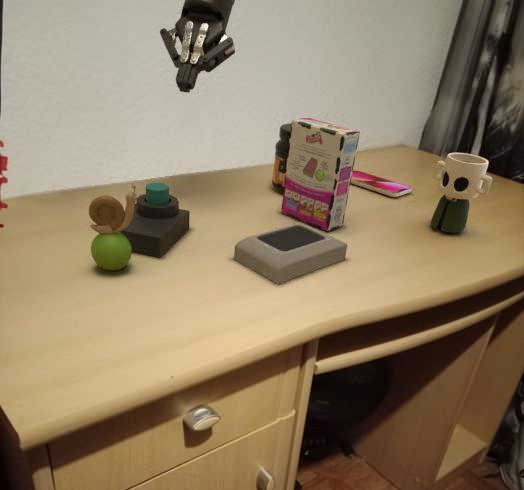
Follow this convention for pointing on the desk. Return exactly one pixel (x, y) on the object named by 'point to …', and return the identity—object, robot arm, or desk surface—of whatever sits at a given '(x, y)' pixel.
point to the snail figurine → (111, 230)
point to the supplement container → (281, 158)
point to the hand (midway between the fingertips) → (183, 88)
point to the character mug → (459, 189)
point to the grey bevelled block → (289, 252)
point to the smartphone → (379, 184)
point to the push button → (157, 193)
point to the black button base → (156, 226)
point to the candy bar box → (319, 172)
